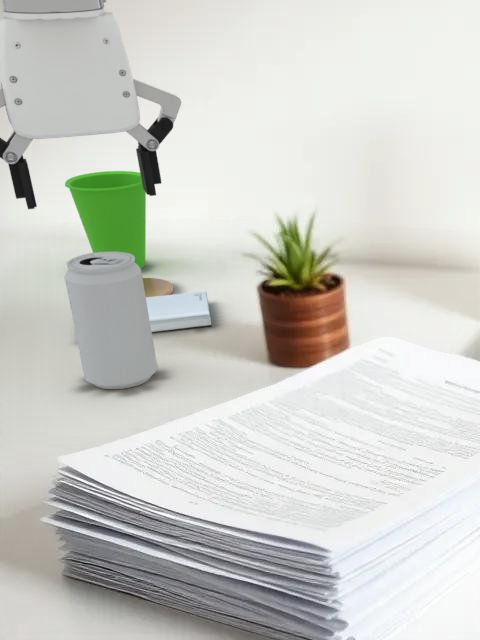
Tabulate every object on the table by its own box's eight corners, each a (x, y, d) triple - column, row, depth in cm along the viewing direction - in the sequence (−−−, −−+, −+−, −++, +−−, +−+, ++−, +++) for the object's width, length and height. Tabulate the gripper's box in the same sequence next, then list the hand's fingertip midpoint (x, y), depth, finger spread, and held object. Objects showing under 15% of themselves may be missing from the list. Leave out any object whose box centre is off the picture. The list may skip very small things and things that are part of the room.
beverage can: (106, 365, 111) (83, 247, 106) (170, 367, 111) (150, 250, 106) (72, 391, 105) (47, 268, 100) (140, 393, 105) (118, 271, 100)
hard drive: (206, 289, 127) (84, 301, 123) (209, 313, 121) (80, 326, 116) (208, 303, 128) (86, 315, 123) (212, 327, 121) (83, 341, 117)
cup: (74, 281, 134) (55, 189, 129) (91, 258, 142) (74, 171, 137) (155, 277, 136) (140, 187, 131) (167, 255, 144) (154, 169, 139)
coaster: (76, 307, 126) (76, 304, 126) (102, 281, 134) (102, 278, 134) (161, 305, 127) (160, 302, 127) (182, 280, 135) (181, 276, 135)
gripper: (156, -9, 101) (187, 179, 108) (-69, -2, 93) (-20, 201, 100) (169, -3, 95) (201, 196, 102) (-70, 5, 87) (-18, 221, 94)
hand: (92, 198), depth 101 cm, fingers open, 9 cm apart
